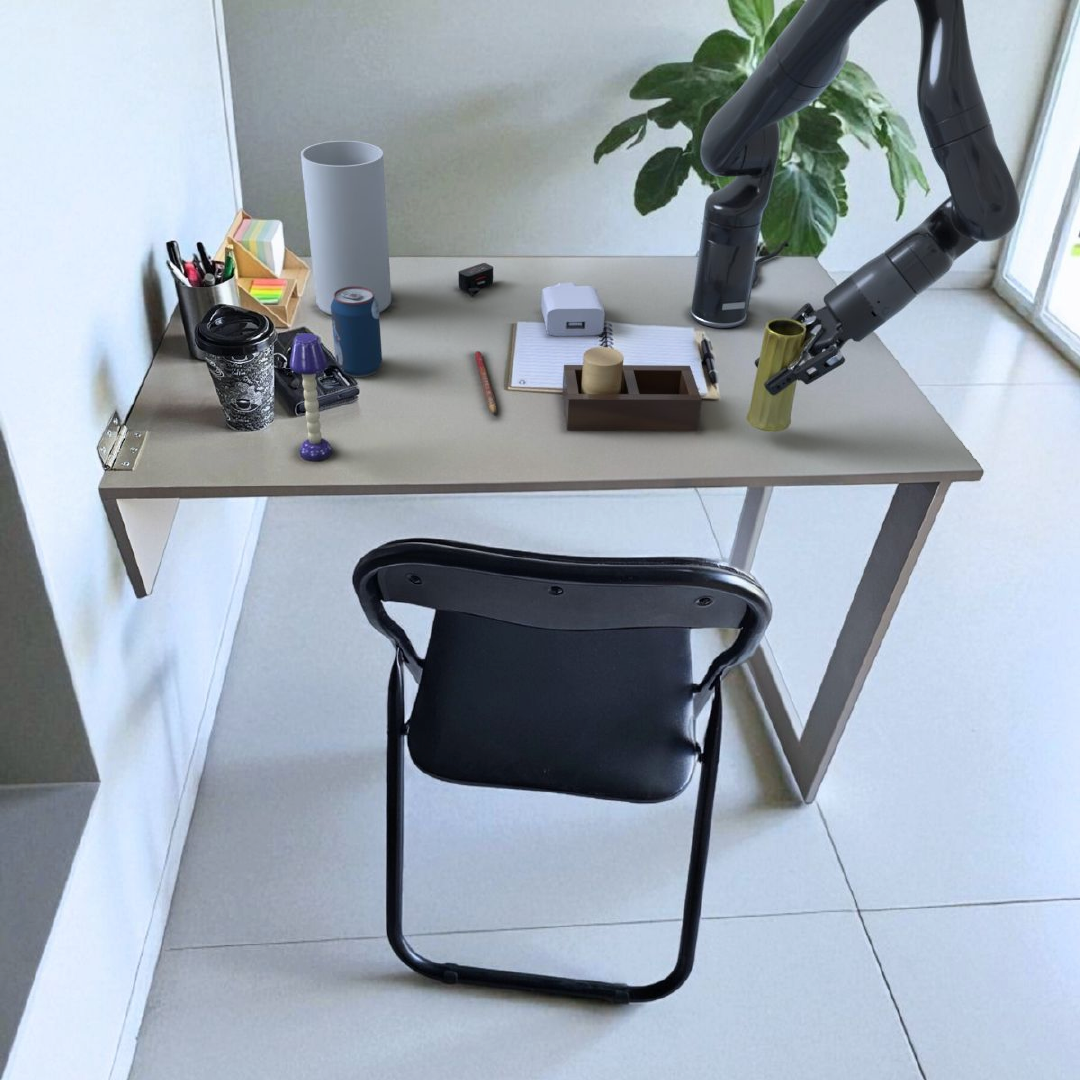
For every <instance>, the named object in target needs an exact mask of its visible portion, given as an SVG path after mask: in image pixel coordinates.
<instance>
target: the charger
mask: <svg viewBox="0 0 1080 1080" xmlns="http://www.w3.org/2000/svg"><path fill="white" fill-rule="evenodd" d="M599 295H600V294H599V293H598V289H597V288H596V287H594V286H591V285H578V284H577V283H574V282H558V283H557V284H554V285H550V286H546V287H544V288H543V289H542V290H541V306H540V307H541V312H542V316H543V321H544V325H545V329H546V332H547V334H548V335H550V336H553V337H554V336H555V337H581V336H582V337H584V336H585V337H586V336H587V337H588V336H591V337H592V336H599V335H601V334H602V333H603V332H604V326H605V315H606V314H605V310H604V306H603V304H602V301H601V298H600V296H599Z"/></svg>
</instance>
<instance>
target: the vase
mask: <svg viewBox="0 0 1080 1080" xmlns="http://www.w3.org/2000/svg"><path fill="white" fill-rule="evenodd" d="M805 334H806V327H805V326H804V325H803V324H802V323H800V322H798V321H795V320H791V319H790V318H774V319H771V320H769V321H767V322H766V324H765V329H764V333H763V337H762V344H761V349H760V354H759V357H760V358H759V357H758V358H759V363H758V368H757V367H756V374H755V377H754V383H753V388H752V395H751V400H750V406H749V408H748V409H749V410H748V412H747V413H746V416H745V417H746V421H747V422H748V424H749V425H750V426H752V427H753V428H755V429H757V430H760V431H763V432H764V431H765V432H770V433H771V432H781V431H785V430H786V429H788V428H789V427H790V425H791V424H792V410H793V404H794V398H795V393H796V387H797V383H798V382H797V381H798V380H796V381H794V382H793V383H791V384H790V385H789V386H788V387H786V388H785V389H783V390H782V391H781V392H780V393H778V394H776V395H771V394H770V393H769V392H768V391H767V390H766V388H765V386H764V383H765V382H766V381H767V380H768V379H770V378H771V377H772V376H774V375H775V374H776V373H778V372H779V371H780V370H781V369H783V368H784V367H785V366H786V368H787V366H788V365H789V364H790V362H791V361H792V360H793V359H794V358H795V357H796V356H797V350H798V348H799V347H800V346H801V345H802V344H803V343H804V339H805Z"/></svg>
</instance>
